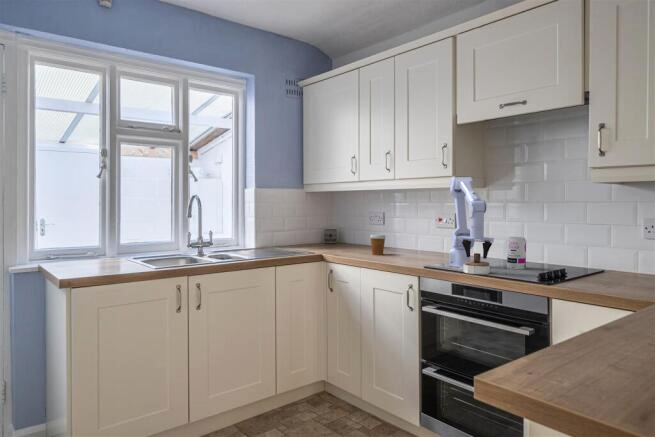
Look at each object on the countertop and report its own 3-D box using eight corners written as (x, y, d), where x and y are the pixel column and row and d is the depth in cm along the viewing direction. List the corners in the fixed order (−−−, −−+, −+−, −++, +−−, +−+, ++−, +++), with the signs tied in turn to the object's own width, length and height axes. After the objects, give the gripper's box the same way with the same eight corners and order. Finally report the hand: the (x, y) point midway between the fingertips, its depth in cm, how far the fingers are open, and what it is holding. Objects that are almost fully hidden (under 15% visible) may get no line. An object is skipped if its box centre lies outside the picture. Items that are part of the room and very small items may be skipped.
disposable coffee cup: (371, 255, 270) (371, 235, 269) (368, 253, 279) (368, 234, 279) (387, 255, 271) (387, 235, 271) (383, 253, 280) (383, 234, 280)
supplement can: (524, 268, 222) (524, 236, 221) (526, 270, 214) (527, 238, 213) (506, 267, 224) (506, 236, 224) (508, 269, 216) (508, 237, 216)
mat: (482, 271, 211) (482, 270, 211) (491, 268, 219) (491, 267, 219) (513, 274, 202) (513, 273, 202) (521, 271, 210) (521, 270, 210)
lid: (460, 264, 207) (460, 253, 207) (472, 262, 214) (472, 251, 214) (481, 267, 199) (481, 255, 199) (493, 264, 206) (493, 253, 206)
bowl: (459, 273, 206) (459, 265, 205) (469, 270, 214) (469, 262, 214) (483, 275, 198) (483, 267, 198) (493, 272, 207) (493, 264, 207)
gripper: (457, 227, 207) (457, 257, 208) (489, 228, 198) (489, 260, 198) (464, 226, 212) (464, 255, 213) (495, 227, 203) (495, 258, 203)
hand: (476, 257), depth 206 cm, fingers open, 7 cm apart
